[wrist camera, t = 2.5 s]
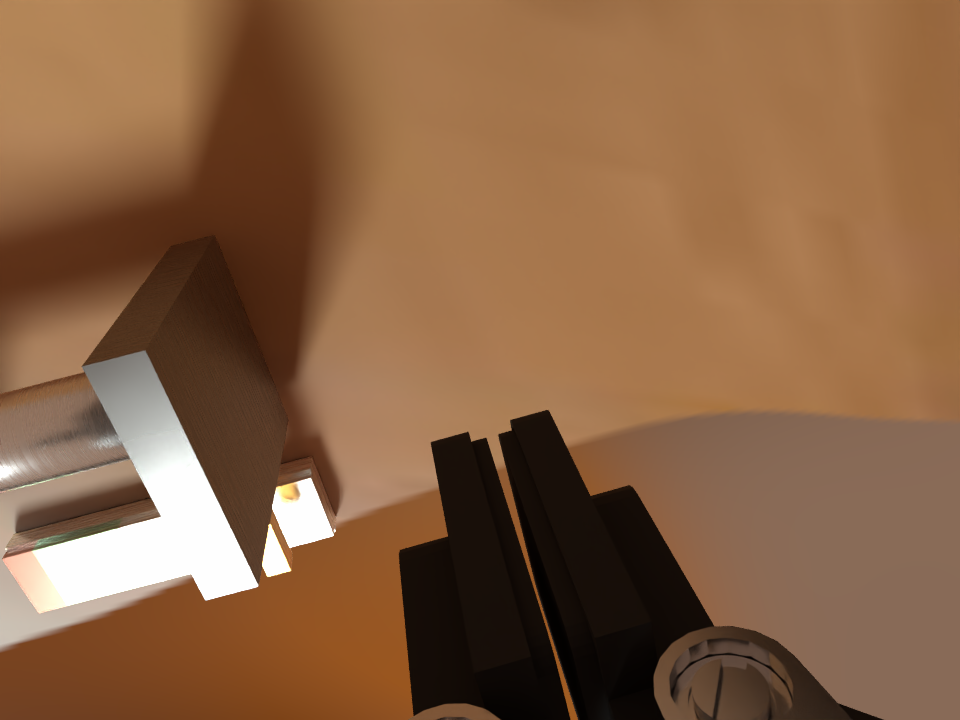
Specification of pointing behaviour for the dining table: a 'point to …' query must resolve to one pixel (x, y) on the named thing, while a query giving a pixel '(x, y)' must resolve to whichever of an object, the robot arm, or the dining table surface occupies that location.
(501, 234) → the dining table surface
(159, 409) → the plunger
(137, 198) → the dining table surface
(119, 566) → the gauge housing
